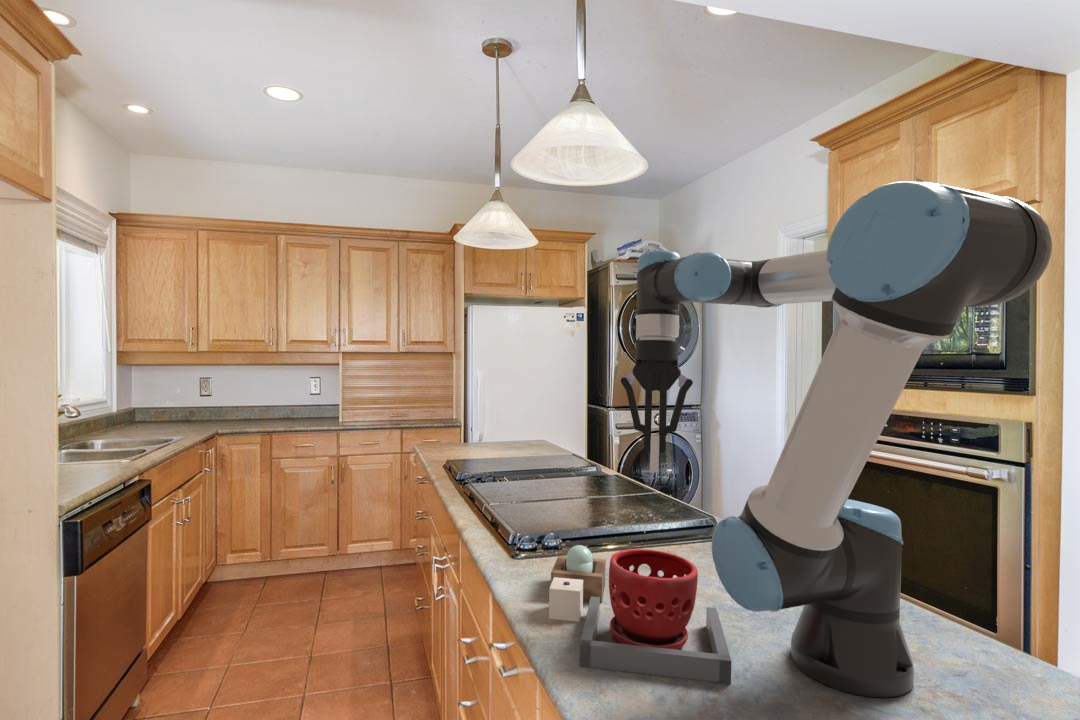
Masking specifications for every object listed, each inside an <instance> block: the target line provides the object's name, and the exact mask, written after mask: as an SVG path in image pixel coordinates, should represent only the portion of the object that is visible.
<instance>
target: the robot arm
mask: <svg viewBox="0 0 1080 720" xmlns="http://www.w3.org/2000/svg"><path fill="white" fill-rule="evenodd" d="M1052 240H1053V239H1052V236H1051V232H1050V229H1049V225H1048V224H1047V223H1046V221H1045V220H1044V219H1043V217H1042V216H1041V214H1040V213H1039V212H1038V211H1036V210H1035V209H1034V208H1033V207H1032V206H1030V205H1028V204H1027V203H1025V202H1022V201H1020V200H1019V199H1016V198H1013V197H1010V196H1004V195H1000V194H999V195H998V194H990V193H986V192H981V191H976V190H971V189H965V188H960V187H955V186H950V185H949V186H948V185H947V184H942V183H941V182H937V183H936V182H930V181H922V182H921V181H904V180H903V181H895V182H890V183H886V184H882V185H881V186H877V187H876V188H874V189H873V190H871V191H870V192H868V193H866V194H864V195H862V196H861V197H859V198H858V199H857V200H856V201H854V202H853V203H852V204H851V205H850V206H849V207H848V208H847V209H846V210H845V212H844V213H843V214H842V215H841V217H840V218H839V220H838V221H837V223H836V225H835V226H834V228H833V230H832V232H831V235H830V238H829V241H828V246H827V249H823V250H817V251H811V252H810V251H809V252H804V253H798V254H792V255H787V256H780V257H773V258H771V259H769V258H768V259H763V260H754V261H752V260H751V261H750V260H738V259H731V258H724V257H722V256H721V255H720V254H718V253H717V252H712V251H707V252H696V253H695V252H694V253H692V254H689V255H687V256H684V257H680V256H681V255H680V254H678V253H677V252H675V251H671V250H654V251H647V252H644V253H642V254H641V255H640V256H639V257H638V263H637V272H636V317H635V319H636V320H635V321H636V322H635V325H636V327H635V331H636V332H635V336H636V337H637V338H639V339H638V340H636V341H635V364H634V367H632V372H630V373H629V374H627V375H625V376H623V377H621V378H620V383H621V384H622V386H623V388H624V389H625V392H626V396H627V401H628V406H629V410H630V414H631V419H632V424H633V427H634V430H636V431H638V432H641V433H642V434H643V451H644V453H650V455H649V472H650V473H659V467H660V466H659V465H660V461H659V460H660V454H664V453H666V450H667V449H666V448H667V447H666V446H667V442H666V440H667V435H669V434H670V433H674V432H676V431H677V428H678V425H679V422H680V418H681V414H682V410H683V407H684V404H685V403H684V402H685V399H686V395H687V392H689V390H690V388H691V387H692V385H693V383H694V381H693V380H692V379H690V378H688V377H686V376H685V375H684V374H682V371H681V368H680V366H679V345H680V344H679V342H678V341H677V338H679V335H680V334H679V332H680V304H687V303H689V304H690V303H700V304H702V303H703V304H716V305H717V304H718V305H737V306H738V305H740V306H748V307H757V308H775V307H780V306H782V305H784V304H785V305H786V304H788V305H789V304H803V303H819V302H820V303H822V302H832V304H833V306H834V308H835V310H836V311H837V314H838V320H837V322H836V325H835V327H834V329H833V331H832V335H831V337H830V339H829V341H828V343H827V346H826V348H825V350H824V353H823V355H822V358H821V359H820V362H819V364H818V366H817V369H816V371H815V374H814V376H813V378H812V381H811V383H810V385H809V387H808V390H807V392H806V395H805V397H804V399H803V401H802V404H801V406H800V408H799V410H798V413H797V415H796V418H795V420H794V422H793V425H792V428H791V429H790V432H789V434H788V436H787V439H786V441H785V443H784V445H783V448H782V450H781V453H780V455H779V457H778V460H777V461H776V465H775V467H774V470H773V472H772V474H771V476H770V479H769V481H768V483H767V484H766V485H760V486H757V487H756V488H754V489H752V491H751V492H750V493H749V495H748V498H747V500H746V501H745V504H744V506H743V509H742V512H741V513H740V515H739V516H727V517H726V518H723V519H722V520H720V521H719V522H718V523H717V524H716V525H715V527H714V530H713V532H712V537H711V552H712V559H713V563H714V567H715V568H714V569H715V571H716V573H717V577H718V578H719V581H720V583H721V584H722V587H723V589H724V590H725V592H727V594H728V595H729V596H730V597H731V599H732V600H733V601H734V602H736V604H738V605H739V606H740V607H742V608H743V609H745V610H747V611H751V612H759V613H760V612H772V613H774V612H775V613H776V612H778V611H780V610H786V609H789V608H795V607H801V606H802V610H801V612H800V614H799V618H798V620H797V622H796V624H795V628H794V629H793V632H792V635H791V639H790V658H791V660H792V662H793V663H794V665H795V666H796V667H797V668H798V669H799V670H800V671H802V672H803V673H804V674H806V675H807V676H809V677H810V678H812V679H813V680H815V681H818V682H819V683H821V684H824V685H825V686H828V687H830V688H833V689H836V690H839V691H843V692H846V693H849V694H854V695H858V696H865V697H872V698H893V697H894V698H895V697H898V696H903V695H905V694H907V693H908V692H910V691H912V689H913V687H914V681H915V680H914V678H915V677H914V675H915V667H914V662H913V660H912V656H911V653H910V650H909V646H908V644H907V640H906V637H905V635H904V632H903V631H904V630H903V629H902V625H901V622H900V620H901V618H900V616H901V615H900V614H901V613H900V611H901V584H902V583H901V582H902V577H901V576H902V552H903V551H902V548H903V547H902V545H904V540H903V537H902V536H903V535H902V521H901V519H900V517H899V516H898V515H897V514H896V513H895V512H893V511H892V510H891V509H888V508H886V507H882V506H879V505H875V504H872V503H867V502H864V501H863V502H862V501H858V500H854V499H850V498H849V496H850V495H851V493H852V491H853V489H854V487H855V485H856V483H857V481H858V479H859V477H860V475H861V473H862V472H863V469H864V467H865V465H866V463H867V461H868V459H869V458H870V455H871V454H872V451H873V449H874V447H875V446H876V444H877V442H878V440H879V437H880V436H881V434H882V432H883V430H884V428H885V426H886V424H887V422H888V421H889V418H890V416H891V414H892V412H893V411H894V409H895V406H896V404H897V403H898V400H899V398H900V396H901V394H902V392H903V391H904V388H905V386H906V385H907V382H908V381H909V378H910V377H911V374H912V373H913V371H914V369H915V367H916V365H917V363H918V361H919V359H920V357H921V355H922V353H923V351H924V349H925V347H927V346H928V345H930V344H933V343H937V342H938V341H942V340H945V339H948V338H949V337H950V336H951V334H952V332H953V330H954V328H955V327H956V324H957V323H958V321H959V319H960V317H961V315H962V313H963V311H964V310H965V308H983V307H991V306H996V305H1000V304H1003V303H1007V302H1010V301H1011V300H1013V299H1015V298H1018V297H1020V296H1021V295H1022V294H1024V293H1025V292H1027V291H1028V290H1030V289H1031V288H1032V287H1033V286H1034V285H1035V284H1036V283H1038V281H1039V280H1040V279H1041V277H1042V276H1043V274H1044V273H1045V271H1046V269H1047V268H1048V264H1049V262H1050V260H1051V258H1052V257H1051V256H1052V251H1053V241H1052ZM635 380H637V382H638V383H639V385H640V387H642V389H643V390H645V392H644V393H645V394H644V397H645V398H644V424H642V423H641V419H640V414H639V410H638V405H637V400H636V397H635V391H634V388H633V386H635ZM677 380H678V384H677V386H678V387H679V389H678V393H677V397H676V400H675V404H674V407H673V410H672V415H671V418H670V422H669V425H667V412H668V411H667V408H668V407H667V405H668V404H667V403H668V391H669V390H670V389H671V388H672V387H673V385H674V384H675V383H676V381H677ZM655 391H658V392H659V403H658V404H659V408H658V411H659V412H658V433H652V413H653V412H652V411H653V392H655Z"/></svg>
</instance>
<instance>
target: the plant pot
mask: <svg viewBox="0 0 1080 720" xmlns="http://www.w3.org/2000/svg"><path fill="white" fill-rule="evenodd" d="M609 560H610V561H609V567H608V568H609V569H608V590H609V591H608V592H609V600H610V605H611V608H612V612H613V615H614V616H613V617H611V619H610V621H609V630H610V632H611V634H612V636H613V637H614V638H615V640H617V642H619V643H620V644H630V645H639V646H648V647H657V648H667V649H676V650H681V648H682V647H683V646H684V645H685V644H686V643H687V641H688V637H689V632H688V629H687V628H686V627H687V625H688V623H689V622H690V620H691V617H692V614H693V611H694V607H695V604H696V599H697V597H696V596H697V590H698V578H699V571H698V568H697V566H696V565H695V564H694V563H693V562H692V561H690V560H688V559H686V558H685V557H683V556H680V555H677V554H674V553H671V552H666V551H663V550H658V549H647V548H645V549H644V548H643V549H642V548H634V549H633V548H632V549H624V550H620V551H616V552H615V553H613V554H612V556H611V557H610V559H609ZM641 565H646V566H648V567H649V569H650V574H648V575H642V574H640V573H639V567H640V566H641ZM632 566H633V569H632V570H630V568H631V567H632ZM659 572H662V573H663V575H661V576H660V575H659ZM674 576H676V577H674Z"/></svg>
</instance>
